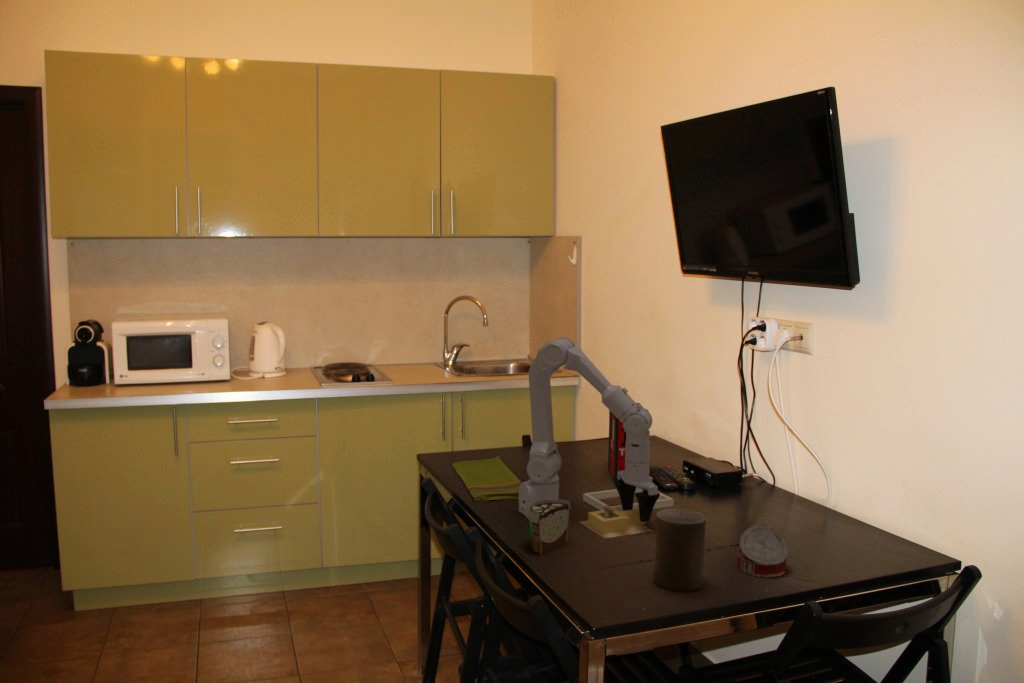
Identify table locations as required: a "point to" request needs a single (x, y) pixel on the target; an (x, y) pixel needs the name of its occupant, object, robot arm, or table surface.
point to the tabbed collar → (614, 521)
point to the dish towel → (488, 479)
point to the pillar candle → (679, 549)
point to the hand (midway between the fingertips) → (636, 516)
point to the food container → (548, 523)
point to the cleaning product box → (616, 446)
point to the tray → (594, 496)
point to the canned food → (762, 550)
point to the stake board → (632, 530)
